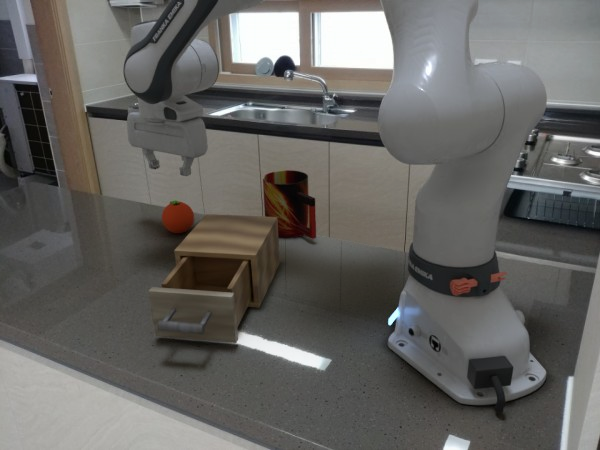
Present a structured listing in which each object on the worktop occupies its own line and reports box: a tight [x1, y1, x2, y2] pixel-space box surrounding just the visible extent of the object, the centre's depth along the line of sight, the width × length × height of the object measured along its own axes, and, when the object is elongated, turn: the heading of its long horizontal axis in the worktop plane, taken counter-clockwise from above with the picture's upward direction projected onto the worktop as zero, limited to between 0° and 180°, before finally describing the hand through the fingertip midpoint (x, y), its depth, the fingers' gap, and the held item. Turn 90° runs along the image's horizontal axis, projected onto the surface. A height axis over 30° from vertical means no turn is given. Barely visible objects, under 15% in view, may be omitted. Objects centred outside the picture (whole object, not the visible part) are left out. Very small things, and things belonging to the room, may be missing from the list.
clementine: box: [161, 200, 195, 234], centre depth 118 cm, size 8×7×7 cm
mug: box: [262, 169, 317, 240], centre depth 115 cm, size 10×14×12 cm
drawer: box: [148, 256, 253, 344], centre depth 83 cm, size 19×13×8 cm, turn 170°
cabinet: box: [173, 213, 281, 309], centre depth 95 cm, size 16×14×10 cm
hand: (170, 171), depth 113 cm, fingers open, 8 cm apart
